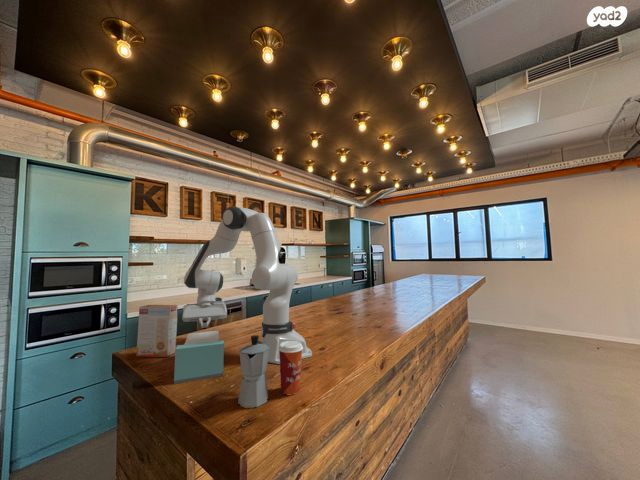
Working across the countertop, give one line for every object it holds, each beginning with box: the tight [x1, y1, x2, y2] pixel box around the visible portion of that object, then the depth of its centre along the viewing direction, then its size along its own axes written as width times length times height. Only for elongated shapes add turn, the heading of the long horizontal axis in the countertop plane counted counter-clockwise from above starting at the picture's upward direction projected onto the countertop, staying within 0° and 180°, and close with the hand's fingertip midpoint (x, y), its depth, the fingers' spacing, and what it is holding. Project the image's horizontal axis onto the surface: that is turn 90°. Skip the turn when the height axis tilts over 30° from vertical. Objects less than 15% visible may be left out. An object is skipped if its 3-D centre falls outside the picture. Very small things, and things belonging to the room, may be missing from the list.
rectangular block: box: [173, 339, 225, 385], centre depth 103 cm, size 15×39×11 cm, turn 23°
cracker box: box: [135, 304, 179, 358], centre depth 108 cm, size 14×6×21 cm, turn 84°
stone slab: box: [183, 330, 220, 345], centre depth 99 cm, size 12×22×4 cm, turn 23°
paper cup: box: [278, 341, 303, 395], centre depth 78 cm, size 8×8×14 cm
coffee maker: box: [237, 334, 270, 409], centre depth 73 cm, size 15×9×18 cm, turn 5°
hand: (204, 326), depth 119 cm, fingers closed
